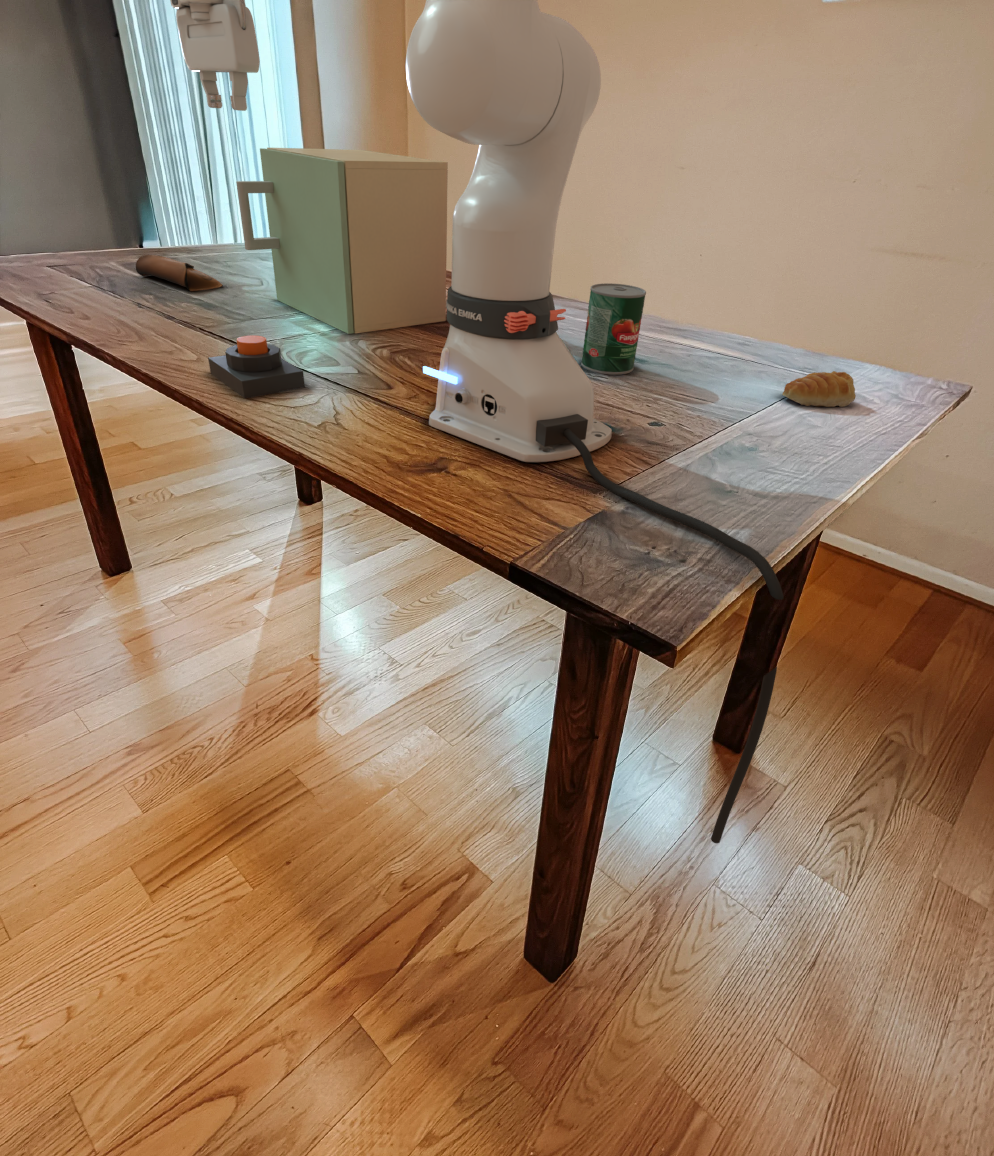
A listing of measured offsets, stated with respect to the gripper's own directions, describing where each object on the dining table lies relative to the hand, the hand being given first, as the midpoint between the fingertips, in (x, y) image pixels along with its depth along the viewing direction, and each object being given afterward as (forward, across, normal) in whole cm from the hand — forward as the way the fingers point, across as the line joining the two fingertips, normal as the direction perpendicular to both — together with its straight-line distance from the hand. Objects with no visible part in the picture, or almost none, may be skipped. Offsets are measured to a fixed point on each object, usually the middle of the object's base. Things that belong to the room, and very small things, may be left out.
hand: (227, 109), depth 106 cm
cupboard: (+29, -10, -16) cm, 35 cm away
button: (+25, -37, +15) cm, 47 cm away
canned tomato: (+29, -56, -31) cm, 70 cm away
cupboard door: (+29, -10, -3) cm, 31 cm away
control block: (+29, -37, +16) cm, 49 cm away
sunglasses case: (+29, +25, +4) cm, 39 cm away
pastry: (+29, -82, -46) cm, 98 cm away
